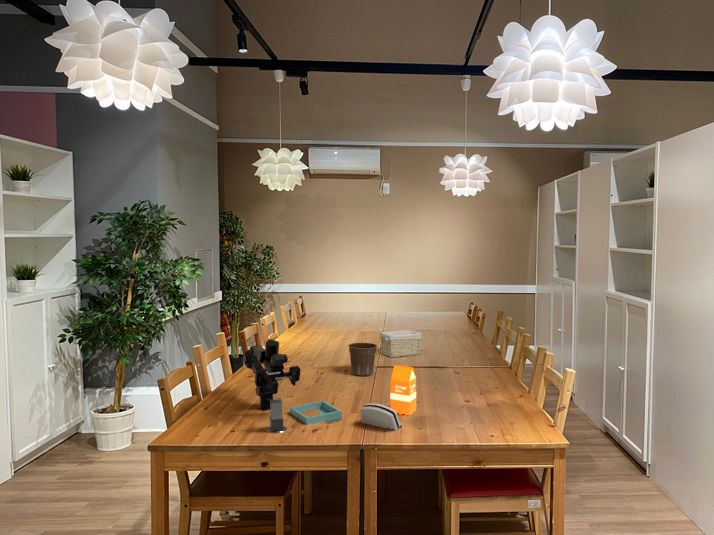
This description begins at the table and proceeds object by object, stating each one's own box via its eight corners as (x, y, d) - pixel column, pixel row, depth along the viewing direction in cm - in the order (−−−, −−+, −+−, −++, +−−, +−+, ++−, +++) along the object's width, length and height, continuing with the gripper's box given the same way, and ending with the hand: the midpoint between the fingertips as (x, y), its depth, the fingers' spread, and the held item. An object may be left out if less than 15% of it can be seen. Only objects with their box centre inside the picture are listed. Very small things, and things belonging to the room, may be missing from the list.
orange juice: (409, 416, 209) (409, 369, 208) (390, 412, 213) (390, 366, 212) (416, 410, 216) (416, 365, 215) (397, 407, 220) (397, 362, 219)
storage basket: (410, 350, 337) (410, 329, 336) (422, 355, 322) (422, 332, 321) (378, 353, 327) (378, 331, 326) (390, 359, 312) (390, 335, 312)
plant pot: (378, 370, 284) (378, 342, 283) (376, 378, 268) (376, 348, 267) (350, 369, 286) (349, 342, 285) (346, 377, 270) (346, 348, 269)
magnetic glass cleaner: (402, 426, 196) (398, 405, 193) (397, 434, 193) (393, 413, 190) (367, 418, 206) (363, 398, 203) (361, 425, 202) (356, 405, 199)
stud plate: (262, 431, 192) (262, 419, 191) (282, 427, 196) (281, 415, 196) (270, 438, 185) (270, 426, 185) (290, 434, 189) (290, 421, 189)
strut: (269, 427, 192) (269, 399, 191) (281, 426, 193) (281, 398, 193) (271, 432, 188) (270, 403, 187) (283, 430, 189) (283, 402, 188)
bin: (290, 416, 209) (289, 407, 208) (323, 409, 217) (323, 400, 217) (306, 428, 195) (306, 418, 195) (341, 420, 204) (341, 411, 203)
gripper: (252, 352, 204) (262, 371, 191) (295, 348, 212) (307, 365, 199) (250, 376, 207) (260, 396, 194) (293, 371, 215) (305, 389, 202)
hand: (284, 386), depth 197 cm, fingers open, 9 cm apart
